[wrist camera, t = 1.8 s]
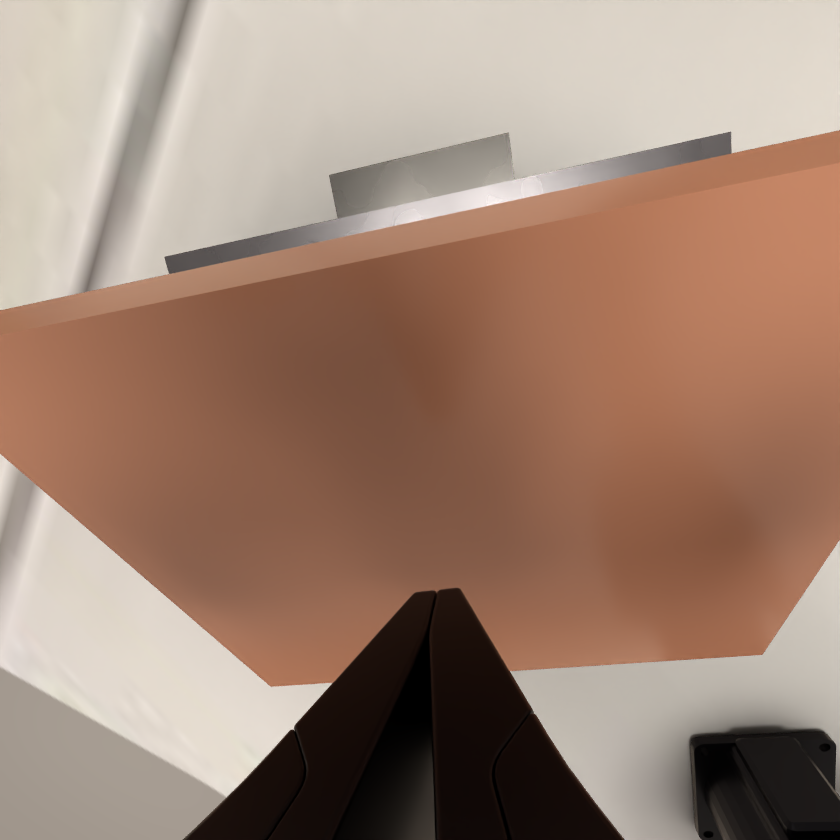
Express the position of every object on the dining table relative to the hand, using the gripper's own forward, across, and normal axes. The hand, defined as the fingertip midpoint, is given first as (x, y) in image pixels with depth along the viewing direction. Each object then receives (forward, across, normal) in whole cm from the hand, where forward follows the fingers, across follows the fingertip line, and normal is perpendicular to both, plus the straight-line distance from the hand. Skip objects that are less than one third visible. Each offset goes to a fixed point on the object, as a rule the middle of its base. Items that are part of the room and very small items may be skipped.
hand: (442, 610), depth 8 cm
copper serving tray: (+5, 0, 0) cm, 5 cm away
